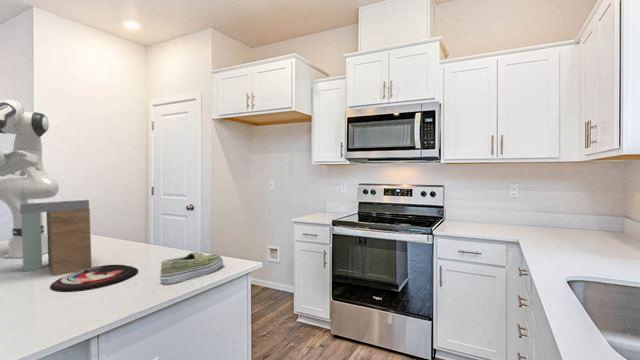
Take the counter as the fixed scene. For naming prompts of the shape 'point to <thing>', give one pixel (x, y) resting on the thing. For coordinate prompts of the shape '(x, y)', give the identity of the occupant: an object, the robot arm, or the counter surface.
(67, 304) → the counter surface
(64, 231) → the brown wooden block
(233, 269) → the counter surface
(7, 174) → the robot arm
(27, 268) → the socket post
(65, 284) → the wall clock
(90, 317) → the counter surface
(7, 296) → the counter surface
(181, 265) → the boat shoe
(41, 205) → the bar
